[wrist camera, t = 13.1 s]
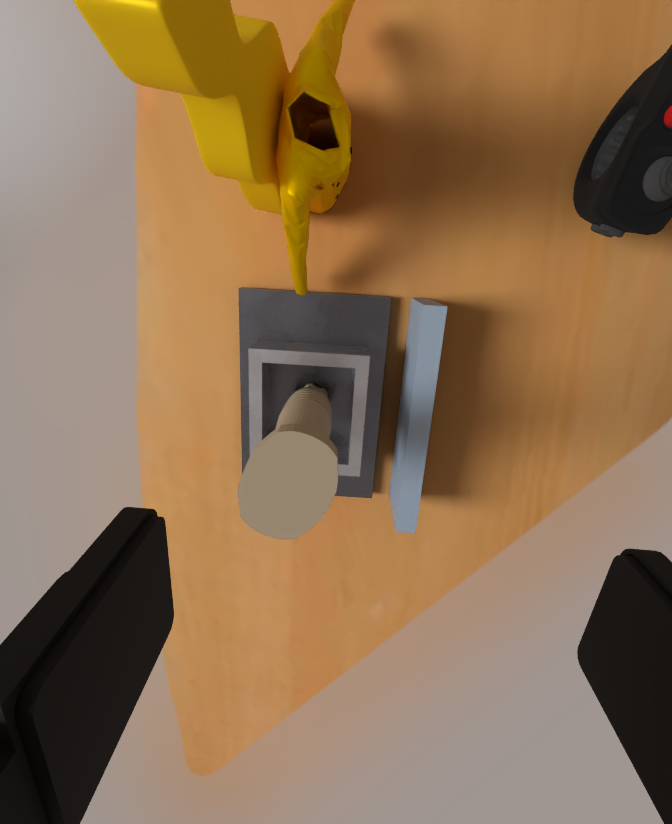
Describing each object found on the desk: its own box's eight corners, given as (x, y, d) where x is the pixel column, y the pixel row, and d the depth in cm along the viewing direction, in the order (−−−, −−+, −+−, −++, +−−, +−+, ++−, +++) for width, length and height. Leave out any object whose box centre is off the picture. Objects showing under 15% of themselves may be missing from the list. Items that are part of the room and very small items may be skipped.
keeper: (241, 287, 34) (226, 291, 30) (390, 296, 34) (396, 301, 30) (245, 484, 40) (232, 510, 36) (371, 492, 40) (373, 519, 36)
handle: (353, 378, 35) (355, 455, 21) (322, 442, 37) (305, 551, 23) (299, 354, 35) (266, 416, 21) (271, 420, 37) (223, 518, 23)
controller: (539, 228, 32) (618, 215, 23) (628, 37, 28) (768, -76, 19) (590, 248, 33) (688, 242, 23) (685, 61, 28) (851, -37, 19)
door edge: (411, 297, 34) (423, 305, 28) (431, 298, 34) (447, 306, 28) (389, 493, 40) (395, 531, 34) (406, 494, 40) (415, 533, 34)
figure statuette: (330, 297, 34) (302, 350, 14) (234, 277, 34) (55, 302, 13) (379, 27, 28) (463, -607, 8) (263, 1, 28) (24, -731, 7)
